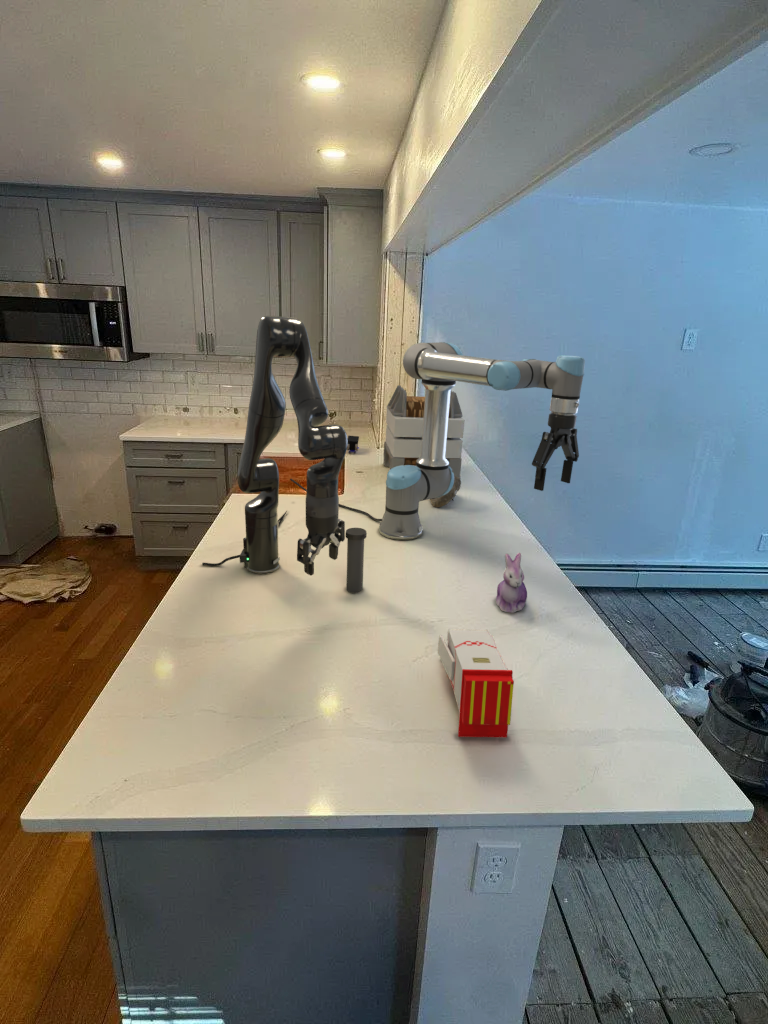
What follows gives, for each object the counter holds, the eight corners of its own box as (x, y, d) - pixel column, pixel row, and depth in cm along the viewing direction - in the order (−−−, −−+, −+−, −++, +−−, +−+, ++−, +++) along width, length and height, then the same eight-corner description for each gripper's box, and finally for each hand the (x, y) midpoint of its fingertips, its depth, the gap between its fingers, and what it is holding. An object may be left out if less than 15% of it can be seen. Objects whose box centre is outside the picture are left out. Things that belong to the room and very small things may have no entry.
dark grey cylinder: (345, 586, 161) (346, 530, 155) (360, 585, 162) (362, 529, 156) (347, 593, 157) (349, 536, 151) (364, 592, 158) (366, 535, 152)
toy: (488, 613, 130) (523, 677, 101) (484, 667, 133) (517, 744, 104) (435, 612, 130) (455, 676, 101) (432, 666, 133) (451, 743, 103)
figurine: (509, 617, 148) (516, 565, 143) (485, 599, 156) (491, 550, 151) (537, 610, 152) (544, 559, 147) (512, 593, 161) (519, 544, 156)
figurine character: (358, 457, 304) (359, 447, 317) (358, 443, 301) (359, 434, 314) (345, 456, 304) (347, 447, 317) (346, 443, 300) (347, 434, 314)
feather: (294, 505, 227) (296, 501, 226) (277, 528, 200) (280, 524, 199) (290, 503, 226) (292, 499, 226) (273, 526, 200) (276, 521, 199)
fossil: (425, 482, 246) (454, 463, 241) (438, 498, 249) (467, 480, 244) (424, 503, 227) (455, 483, 222) (438, 521, 229) (469, 501, 224)
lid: (343, 533, 156) (343, 528, 155) (364, 532, 157) (364, 527, 157) (347, 541, 151) (347, 535, 150) (368, 540, 152) (368, 534, 151)
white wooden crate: (382, 463, 289) (386, 382, 275) (445, 464, 293) (451, 384, 279) (390, 482, 257) (394, 392, 243) (460, 483, 261) (468, 394, 247)
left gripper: (330, 492, 137) (329, 547, 145) (288, 514, 126) (289, 572, 135) (354, 502, 133) (352, 559, 141) (312, 526, 123) (312, 585, 131)
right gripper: (548, 419, 148) (537, 496, 155) (598, 411, 163) (586, 482, 171) (525, 414, 153) (515, 489, 160) (575, 407, 169) (564, 476, 176)
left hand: (321, 565), depth 138 cm, fingers open, 8 cm apart
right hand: (552, 485), depth 166 cm, fingers open, 13 cm apart
